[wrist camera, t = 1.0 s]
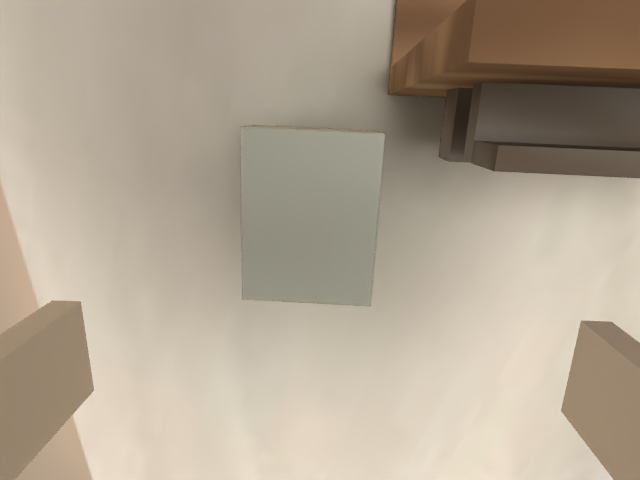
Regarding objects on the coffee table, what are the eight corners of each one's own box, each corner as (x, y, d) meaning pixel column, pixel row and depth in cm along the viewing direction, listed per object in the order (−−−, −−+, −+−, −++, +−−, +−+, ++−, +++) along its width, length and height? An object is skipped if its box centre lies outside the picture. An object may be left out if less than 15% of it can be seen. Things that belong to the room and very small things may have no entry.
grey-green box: (272, 123, 26) (240, 126, 17) (368, 127, 26) (385, 133, 17) (270, 257, 29) (242, 318, 20) (359, 261, 28) (368, 325, 20)
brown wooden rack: (396, -4, 24) (505, -220, 8) (720, 9, 23) (1456, -195, 8) (383, 146, 26) (450, 189, 11) (677, 160, 26) (1183, 225, 10)
